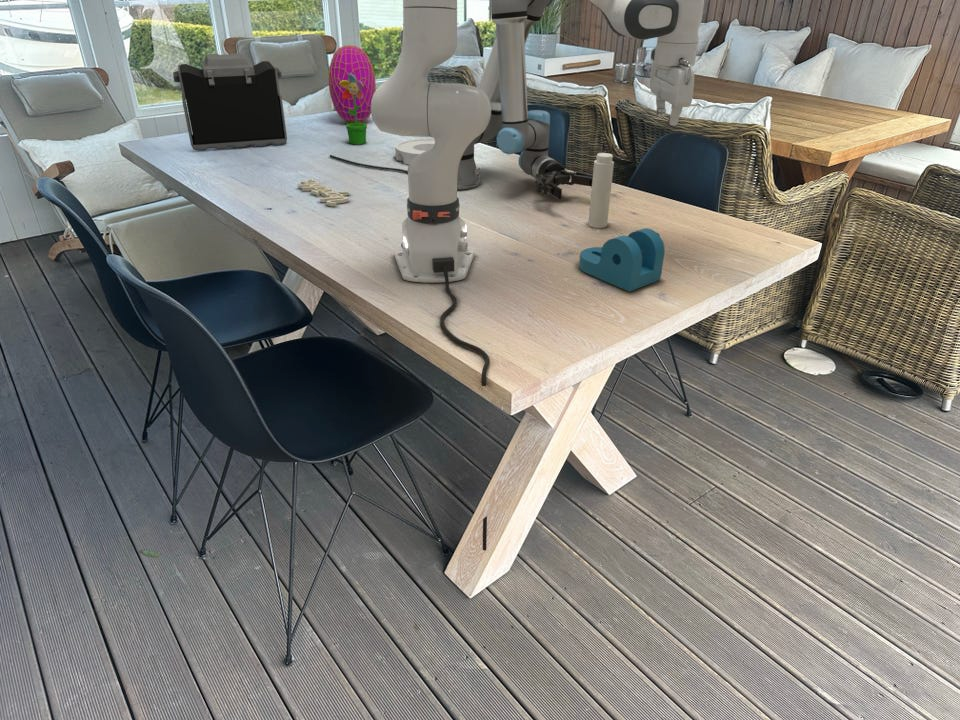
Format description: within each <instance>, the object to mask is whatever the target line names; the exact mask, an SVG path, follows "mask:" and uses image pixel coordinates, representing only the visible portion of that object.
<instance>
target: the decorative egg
mask: <svg viewBox="0 0 960 720" xmlns="http://www.w3.org/2000/svg"><path fill="white" fill-rule="evenodd" d="M348 73H350V74H352V75H354V76H355V78H356V83H357V82H358V81H361V82H362V84H363V89H361V90H360V91H361V92H362V93H363V98H362V100H359V99H358V98H357V97H356V95H355V103H356V106H359V109H358V110H356V116H357V123H364V122H365V121H366V120H368V118H369V117H370V116H371V101H372V97H373V95H374V93H375V91H376V90H377V83H376V82H377V81H376V75H375V71H374V68H373V63H372V62H371V60H370V57H369V56H368V54H367V53H366V51H365V50H363V48H361V47H359V46H357V45H353V44H352V45H351V44H348V45H343V46H340V47H338V48H337V49H336V51H334V53H333V56H332V57H331V61H330V63H329V69H328V90H329V96H330V99H331V103H332V105H333V108H334V110H335V111H336V113H337V114H338V116H339V118H341V119H342V120H343V121H344V122H346V123H348V124H349V123H355V115H351V114H349V112H348V111H349V110H354V100H353V95H352V96H351V97H350V98H348V99H341V97H342V94H343V93H344V91H345V90H347V89H346V88H343V87H342V86H341V85H340V84H339V83H340V82H341V81H342V80H346V81H349V78H348Z"/></svg>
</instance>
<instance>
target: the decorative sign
mask: <svg viewBox="0 0 960 720" xmlns="http://www.w3.org/2000/svg"><path fill="white" fill-rule="evenodd" d="M297 187H298V189H301V191H303V192H310V193H311V195H314V196H316V197H319V196H320V195H321V197H319V202H320V203H326V206H327V207H328V206H329V207H337V204H344V203H348V202H349V201H350V200H349V197H348V196H349V195H350V191H349V190H341V191H340V190H335V189H332V188H331V187H329V186H326V185H324V184H323V183H320V182H318V180H315V179H313V178H311V179H307V180H305V181H304V180H300V183H299V184H297Z"/></svg>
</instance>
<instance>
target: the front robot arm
mask: <svg viewBox="0 0 960 720" xmlns="http://www.w3.org/2000/svg"><path fill="white" fill-rule="evenodd" d="M587 1H589V3H591V4H592V5H594V6H595V7H596V8H597V9H598V10H599V11H600V12H601V14H602V16H603V17H604V19H605V21H606V23H607V25H608V26H609V28H610V29H611V31H612V32H613V33H615V34H616V35H618V36H620V37H626V38H630V39H633V40H637V41H646V40H650V39H656V38H657V39H656V46H655V47H654V48H653V49H651V51H650V60H651V67H650V76H649V77H650V79H649V88H650V89H649V90H650V93H652V94H654V96H655V95H656V96H655V105H656V112H655V116H657V117H659V118H663V117H665V116H666V111H667V108H666V103H668V104H670V105H671V106H670V109H671V111H670V115H668V120H667V123H668V125H670V126H677V125H678V124H679V119H680V116H681V114H682V112H683V108H690V106H691V105H692V102H693V97H694V88H695V71H694V70H693V69H692V67H693V66H695V65H696V59H697V54H698V47H699V28H700V25H701V23H702V21H703V14H704V6H705V0H587ZM401 44H402V45H401V51H400V55H399V60H398V62H397V64H396V65H395V68H394V69H393V71H392V73H391V74H390V76H389V77H388V78H387V79H386V80H385V81H384V82H383V83H382V84H380V85H379V86H378V87H377V88H376V91H375V93H374V95H373V97H372V101H371V114H370V116H371V119H372V120H373V122H374V125H375V126H376V127H377V129H378V130H379V131H381V132H383V133H386V134H389V135H394V136H399V137H415V138H424V137H425V138H430V139H435V145H434V147H433V148H431V149H430V150H428V151H425V152H423V153H421V154H419V155H418V156H416V157H415V158H414V159H412V161H411V162H410V164H409V165H408V168H407V171H408V173H407V184H408V186H407V187H408V198H407V199H406V211H407V213H406V214H407V217H406V218H405V219H404V220H403V221H402V223H401V231H402V242H401V244H400V247H401V249H400V250H397V251H395V252H394V259H395V262H396V264H397V267H398V269H399V272H400V274H401V277H402V279H403V280H405V281H408V282H414V283H431V284H433V283H435V284H437V283H444V286H445V291H446V293H447V295H448V296H449V297H450V298H451V300H452V304H451V305H450V306H449V307H448V308H447V309H446V310H445V311H443V312H442V314H441V315H440V317H439V318H440V319H439V324H440V328H441V329H442V331H443V332H444V333H445V334H446V335H447V336H448V337H449V338H450V339H451V340H452V341H454V342H455V343H457V344H459V345H461V346H463V347H465V348H468V349H470V350H473V351H476V352H477V353H479V354H480V355H481V356H482V357H483V359H484V360H485V361H484V364H483V367H482V369H481V386H482V387H487V372H488V369H489V367H490V362H491V361H490V360H491V359H490V357H489V355H488V354H487V352H486V351H485V350H483V349H482V348H481V347H479V346H476V345H475V344H472V343H469V342H466V341H464V340H461V339H460V338H458V337H456V336H455V335H454V334H453V333H452V332H451V331H449V329H448V328H447V326H446V324H445V318H446V317H447V315H448V314H450V312H452V311H453V310H454V309H455V308H456V306H457V305H458V299H457V297H456V296H455V295H454V294H453V293H452V291H451V289H450V283H451V282H457V281H461V280H464V279H466V277H467V274H468V273H469V269H470V267H471V265H472V262H473V260H474V257H475V251H473V250H471V249H468V245H469V243H468V242H467V241H466V238H467V236H468V232H467V225H466V221H465V220H464V219H463V218H461V216H460V208H461V207H460V206H461V205H460V198H459V197H458V190H457V179H458V168H459V163H460V160H461V157H462V155H463V153H464V151H465V150H466V148H467V147H468V145H469V144H470V143H471V142H472V141H473V140H474V139H475V138H476V137H478V136H479V135H481V134H482V133H483V132H484V130H485V129H486V128H487V126H488V124H489V121H490V118H491V105H490V101H489V99H488V96H487V95H486V93H485V92H484V91H483V90H482V89H481V88H478V87H479V86H478V87H477V86H474V85H469V84H466V83H453V82H451V83H450V82H431V81H428V80H429V74H430V72H431V71H432V70H433V69H434V68H436V67H438V66H441V64H443V63H445V62H447V61H448V60H450V59H451V58H452V57H453V56H454V55H455V53H456V51H457V47H458V0H402V43H401ZM487 534H488V515H486V516H485V517H484V518H482V551H484V552H485V551H487V538H488V537H487V536H488V535H487Z"/></svg>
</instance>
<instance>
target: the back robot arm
mask: <svg viewBox="0 0 960 720" xmlns="http://www.w3.org/2000/svg"><path fill="white" fill-rule="evenodd" d="M554 1H555V0H490V15H491V22H493V24H494V25H495V29H496V30H495V31H496V33H495V35H496V36H495V40H494V42H493V45H492V47H491V51H490V54H489V56H488V60H487V62H486V65H485V68H484V70H483V73H482V76H481V79H480V81H479V84H478V88H481V89H482V90H483V91H484V92H485V93H486V95H487V96H488V99H489V101H490V105H491V118H490V121H489V124H488V126H487V128H486V129H485V130H484V132H483V133H482V134H481V135H479V136H478V137H476V138H475V139H474V140H473V141H472V142H471V143H470V144H469V145H468V147H467V148H466V150H465V151H464V153H463V155H462V157H461V160H460V163H459V168H458V179H457V191H464V190H471V189H474V188H477V187H479V186H480V184H481V182H480V181H481V180H480V179H481V177H480V174H479V173H480V172H481V167H480V166H479V167H477V164H476V161H475V145H477V144H480V143H483V142H487V141H490V140H492V139H494V138H495V137H496V145H497V147H498V149H499V150H500V151H501V153H503V154H505V155H513V154H519V153H520V154H519V156H518V166H519V168H520V169H521V170H522V171H523V172H524V173H525V174H526V175H528V176H530V177H533V178H534V179H535V184H536V193H541V192H542V195H544V196H546V195H547V196H548V194H550V195H551V196H553V197H555V198H556V199H557V200H562V195H563V193H562V192H563V188H561V187H559V186H560V185H563V186H564V185H567V186H568V185H569V186H573V185H579V186H584V187H590V188H591V189H592V180H593V173H592V174H591V173H587V172H583V171H579V170H576V169H575V170H573V172H572V171H568V170H566V169H565V166H564V165H563V164H562V163H560V162H559V161H557V160H555V159H554V158H552V157H550V156H549V144H550V132H551V131H550V129H551V115H550V113H549V112H548V111H546V110H543V109H542V110H541V109H531V110H528V94H527V93H528V92H527V91H528V89H527V87H528V86H527V69H526V68H527V65H526V42H527V40H528V38H529V35H530V32H531V30H532V27H533V25H535V24H538V23H540V21H541V19H542V17H543V14H544V13H545V9H546V8H547V7H549V6H551V4H553V3H554ZM329 158H331V159H335V160H338V161H340V162H345V163H348V164H351V165H355V166H359V167H364V168H365V167H366V168H370V169H371V168H372V169H377V170H378V169H379V170H386V171H395V172H401V173H406V174H408V170H406V169H403V168H395V167H387V166H380V165H379V166H378V165H372V164H366V163H360V162H357V161H353V160H349V159H345V158H342V157H338V156H336V155H333V154H329Z"/></svg>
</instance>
